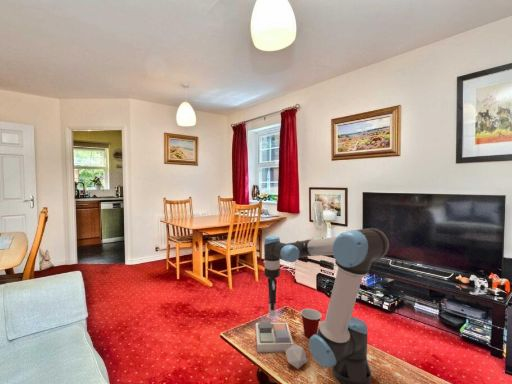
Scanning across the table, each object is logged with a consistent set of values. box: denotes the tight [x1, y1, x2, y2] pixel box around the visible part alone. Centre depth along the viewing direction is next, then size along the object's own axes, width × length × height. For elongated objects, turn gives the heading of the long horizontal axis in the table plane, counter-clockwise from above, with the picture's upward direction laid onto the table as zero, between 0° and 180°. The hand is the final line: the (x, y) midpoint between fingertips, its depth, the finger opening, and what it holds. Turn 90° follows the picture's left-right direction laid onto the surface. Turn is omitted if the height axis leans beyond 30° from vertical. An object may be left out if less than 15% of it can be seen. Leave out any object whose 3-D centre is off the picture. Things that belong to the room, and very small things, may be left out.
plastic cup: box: [300, 308, 323, 339], centre depth 147 cm, size 11×11×12 cm
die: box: [284, 342, 308, 370], centre depth 124 cm, size 8×9×10 cm
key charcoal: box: [258, 320, 272, 333], centre depth 147 cm, size 7×6×3 cm
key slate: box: [275, 330, 289, 343], centre depth 138 cm, size 7×6×3 cm
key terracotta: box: [273, 324, 286, 334], centre depth 147 cm, size 7×6×3 cm
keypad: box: [255, 322, 295, 354], centre depth 143 cm, size 20×17×4 cm
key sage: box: [260, 333, 274, 343], centre depth 138 cm, size 7×6×3 cm
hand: (272, 315), depth 140 cm, fingers closed
